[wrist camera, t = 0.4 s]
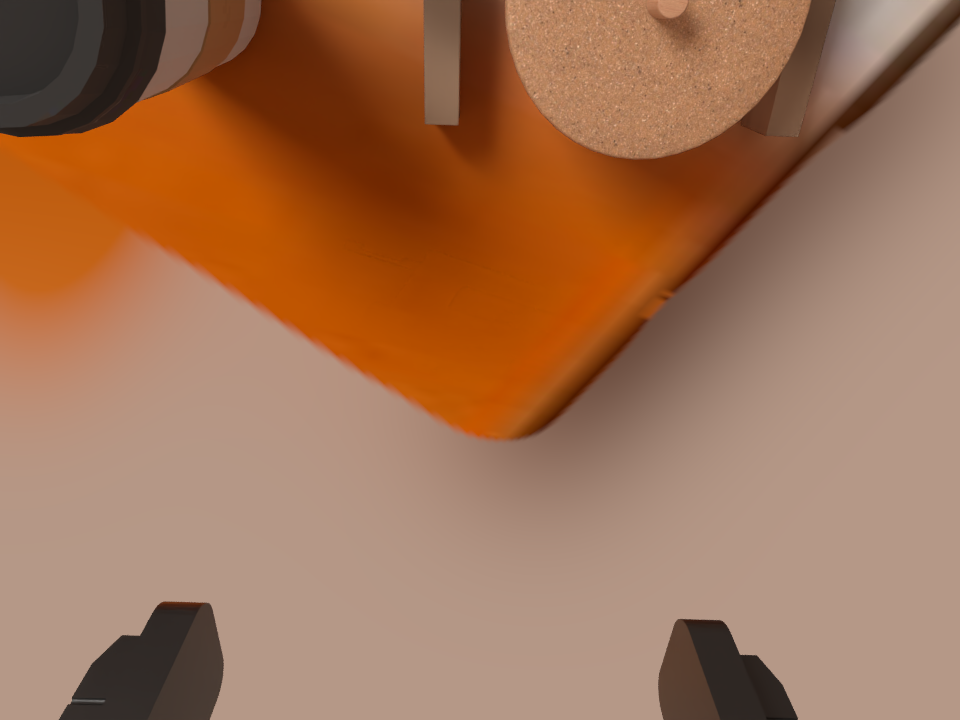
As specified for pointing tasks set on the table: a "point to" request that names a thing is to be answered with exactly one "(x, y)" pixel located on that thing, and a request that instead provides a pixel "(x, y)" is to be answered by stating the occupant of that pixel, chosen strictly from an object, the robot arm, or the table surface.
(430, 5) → the channel
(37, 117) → the coffee cup
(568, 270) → the table surface
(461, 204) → the table surface
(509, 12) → the lidded jar
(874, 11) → the table surface
